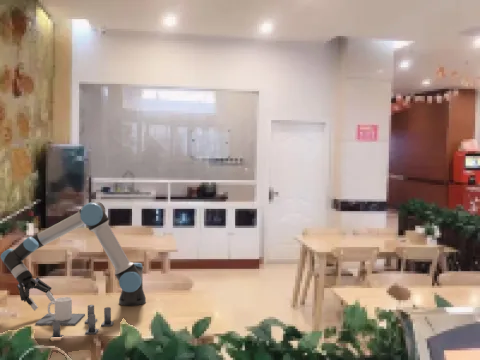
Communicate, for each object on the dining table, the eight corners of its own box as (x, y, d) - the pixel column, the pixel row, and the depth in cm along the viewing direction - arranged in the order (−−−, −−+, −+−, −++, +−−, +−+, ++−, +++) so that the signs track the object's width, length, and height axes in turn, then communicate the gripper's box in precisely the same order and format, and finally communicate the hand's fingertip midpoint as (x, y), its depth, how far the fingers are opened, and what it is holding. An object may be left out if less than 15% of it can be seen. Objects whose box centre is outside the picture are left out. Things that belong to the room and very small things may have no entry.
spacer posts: (115, 320, 263) (115, 304, 263) (100, 341, 234) (100, 322, 233) (70, 320, 263) (70, 304, 263) (49, 340, 234) (48, 322, 234)
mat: (84, 315, 272) (84, 313, 272) (75, 325, 256) (75, 323, 256) (47, 315, 272) (47, 313, 272) (35, 325, 256) (35, 323, 256)
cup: (69, 321, 259) (69, 301, 259) (45, 321, 258) (45, 301, 258) (73, 316, 267) (73, 296, 267) (50, 316, 267) (50, 297, 266)
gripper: (35, 273, 284) (57, 303, 279) (0, 284, 260) (23, 316, 256) (42, 265, 282) (65, 294, 277) (8, 274, 258) (32, 307, 254)
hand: (45, 305), depth 266 cm, fingers open, 13 cm apart
